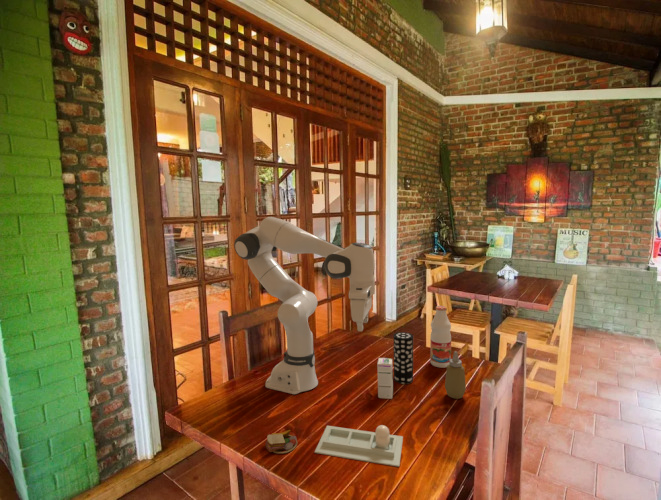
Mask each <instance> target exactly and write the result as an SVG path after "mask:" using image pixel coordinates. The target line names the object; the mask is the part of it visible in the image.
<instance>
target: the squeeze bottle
mask: <svg viewBox="0 0 661 500" xmlns="http://www.w3.org/2000/svg"><path fill="white" fill-rule="evenodd" d="M458 353H459V352H458V351H453V355H452V358H451V359H450V361H449V365H447V367H446V372H445V382H444V388H445V392H446V395H447V396H448V397H450V398H452V399H458V400H459V399H462V398H463V397H464V395H465V392H466V389H467V388H466V375H465V367H464V366H463V364H462V360H461V359H460V358H459V354H458Z"/></svg>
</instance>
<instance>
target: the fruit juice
mask: <svg viewBox="0 0 661 500" xmlns="http://www.w3.org/2000/svg"><path fill="white" fill-rule="evenodd" d="M447 310H448V309H447V307H446V306H444V305H436V306H435V314H434V317H433V319H432V321H431V322H430V327H431V331H430V332H431V333H430V347H429V348H430V352H429V353H430V354H429V355H430V359H429V360H430V364H431V365H432V366H433V367H437V368H443V369H444V368H447V365H449V361H450V359H452V335H451V328H452V324H451V322H450V319H449V317H448V315H447Z"/></svg>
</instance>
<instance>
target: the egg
mask: <svg viewBox="0 0 661 500" xmlns="http://www.w3.org/2000/svg"><path fill="white" fill-rule="evenodd" d="M390 433H391V432H390V428H389V427H387V426H386V425H383V424H380V425H378V426H377V427H376V429H375V437H376V448H377V449H384V450H389V449H390V435H391V434H390Z"/></svg>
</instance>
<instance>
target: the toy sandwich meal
mask: <svg viewBox="0 0 661 500" xmlns="http://www.w3.org/2000/svg"><path fill="white" fill-rule="evenodd" d="M290 433H291V429H288V430H286V431H283V432H279V433H277V432H276V433H275V432H272V433H271V434H267V437H266V441H265V449H266V450H267V452H269V453H274V454H278V455H279V454H281V455H282V454H287V453H289V452H292V451H293V450H295V448H296V447H297V446H298V440H297V438H298V437H297V436H296V435H292V434H290Z"/></svg>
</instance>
